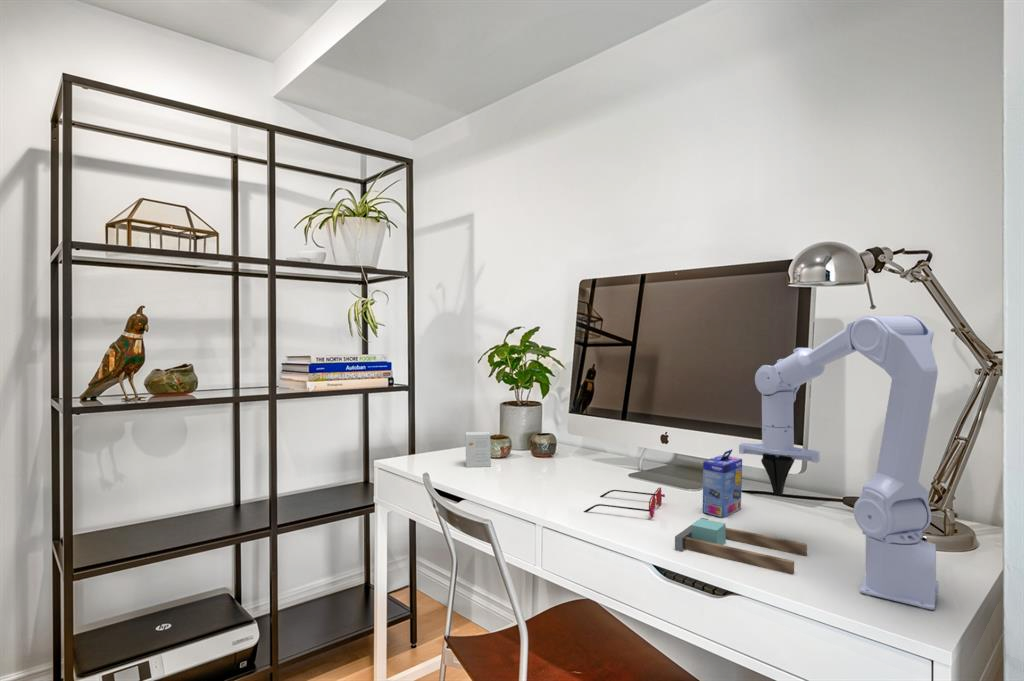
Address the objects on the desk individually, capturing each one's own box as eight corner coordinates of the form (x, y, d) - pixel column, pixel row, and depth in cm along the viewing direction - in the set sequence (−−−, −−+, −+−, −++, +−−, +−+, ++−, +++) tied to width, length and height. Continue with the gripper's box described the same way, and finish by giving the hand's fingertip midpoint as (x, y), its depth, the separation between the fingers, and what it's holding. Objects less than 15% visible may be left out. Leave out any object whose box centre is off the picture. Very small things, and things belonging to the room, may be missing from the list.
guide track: (806, 554, 105) (806, 543, 105) (792, 574, 97) (792, 562, 97) (705, 532, 117) (705, 523, 117) (685, 549, 108) (685, 538, 108)
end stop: (708, 530, 118) (708, 519, 118) (682, 551, 107) (682, 538, 107) (701, 529, 119) (701, 517, 119) (674, 549, 108) (674, 536, 108)
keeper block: (725, 543, 112) (725, 523, 112) (717, 551, 108) (716, 530, 108) (700, 537, 115) (700, 518, 115) (691, 545, 111) (691, 525, 111)
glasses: (654, 523, 125) (653, 500, 125) (583, 513, 132) (582, 492, 132) (665, 505, 138) (665, 485, 137) (600, 498, 145) (599, 478, 145)
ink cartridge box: (724, 519, 126) (724, 454, 126) (701, 513, 130) (700, 451, 129) (743, 509, 133) (743, 447, 132) (720, 504, 137) (720, 444, 136)
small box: (490, 463, 184) (490, 430, 184) (491, 467, 178) (490, 433, 178) (466, 463, 183) (465, 431, 183) (465, 467, 178) (465, 434, 178)
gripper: (822, 426, 111) (823, 494, 111) (745, 419, 120) (746, 483, 120) (815, 431, 105) (815, 503, 105) (735, 424, 114) (736, 490, 114)
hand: (778, 493), depth 112 cm, fingers closed
